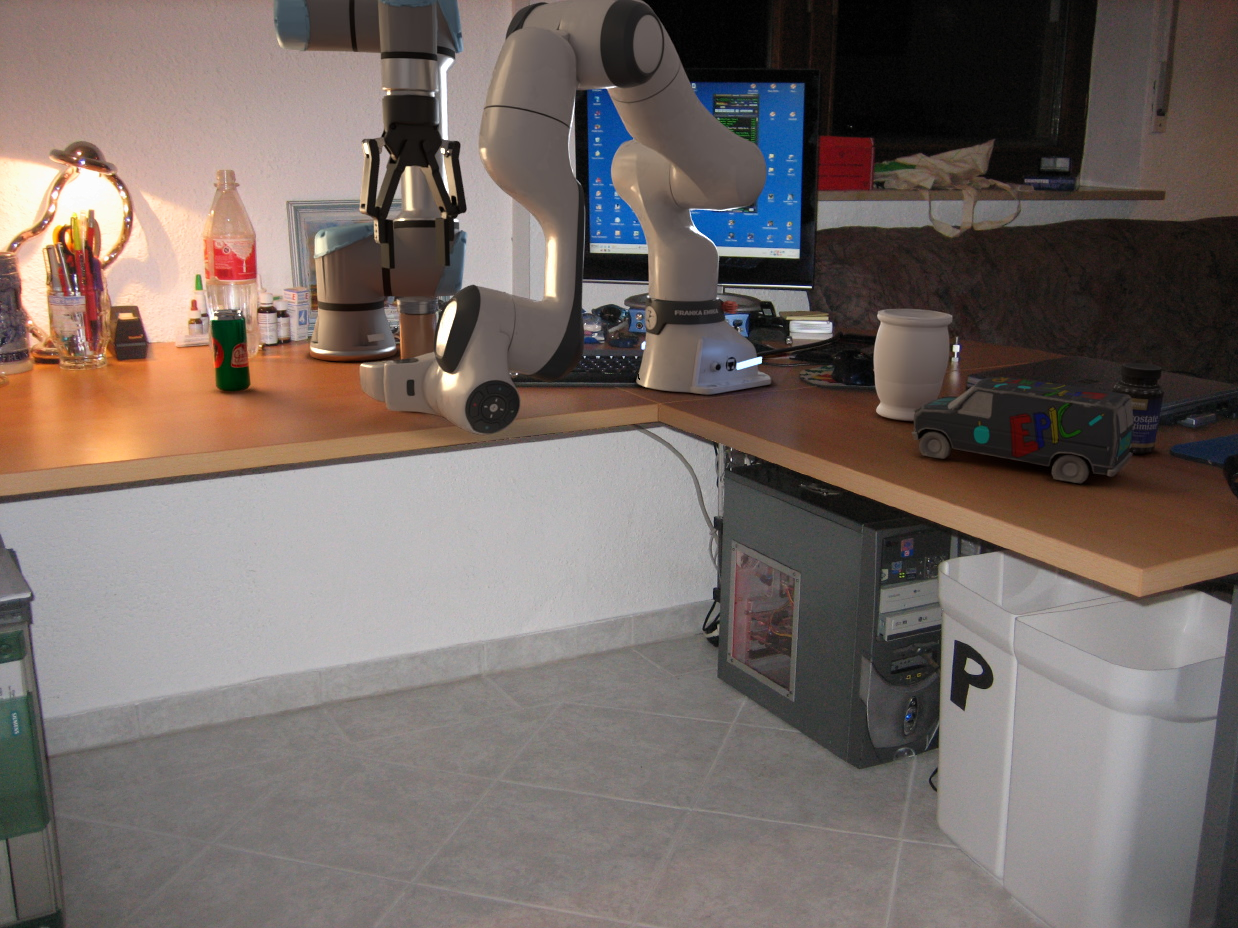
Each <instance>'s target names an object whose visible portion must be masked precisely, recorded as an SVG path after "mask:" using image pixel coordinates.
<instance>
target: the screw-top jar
mask: <svg viewBox="0 0 1238 928" xmlns="http://www.w3.org/2000/svg"><path fill="white" fill-rule="evenodd" d="M398 321H399V322H398V323H399V325H398V329H399V346H400V348H399V351H400V360H402V359H408V358H414V357H418V356H421V355H424V354H427V353H432V352H434V337H435V330H436V326H437V322H438V312H435V313H427V314H407V313H400V312H398Z"/></svg>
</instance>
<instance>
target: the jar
mask: <svg viewBox="0 0 1238 928" xmlns="http://www.w3.org/2000/svg"><path fill="white" fill-rule="evenodd" d="M877 319H878V321H880V325H879V327H878V329H877V334H876V337H875V342H874V347H873V372H874V384H875V385H874V386H875V391H876V395H877V398H878V399H879V401H880V402H879V404H877V405H878V406H877V407H876V409H875V412H876V413H877V415H879V416H881V417H884V418H887V419H889V420H890V419H891V420H896V421H903V422H914V414H915V410H916V409H918V408H919V407H921V406H923V405H924V404H926V403H929V402H931V401H934V400H936V399H939V396H940V393H941V391H942V388H943V384H944V378H945V377H946V376H945V375H946V373H947V369H948V364H949V360H950V359H949V357H950V334H949V327H948V326H949V325H951V324H952V323H953V315H952V314H950V313H947V312H943V311H936V310H929V309H918V308H888V309H880V310H878V311H877Z"/></svg>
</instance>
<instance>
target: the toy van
mask: <svg viewBox="0 0 1238 928" xmlns="http://www.w3.org/2000/svg"><path fill="white" fill-rule="evenodd" d="M1134 427H1135V426H1134V418H1133V410H1132V401H1131V396H1129V395H1127V394H1121V393H1115V392H1112V391H1108V390H1103V389H1102V390H1100V389H1094V388H1089V387H1081V386H1076V385H1068V384H1061V383H1054V382H1047V381H1042V380H1041V381H1040V380H1032V379H1026V378H1025V379H1024V378H1016V377H1015V378H1014V377H1003V376H989V377H985V378H982V379H981V380H979V381H977V382H976V383H975V384H974V385H972V386H971V387H970V388H969V389H967V390H966V391H964V392H963V393H962V394H960V395H959V396H950V395H946V396H942V397H939V398H937V399H936V400H934V401H931V402H929V403H926V404H924V405H923V406H921V407H919V408H918V409H916V410H915V414H914V421H913V431H912V432H911V435H912V438H913V440H914V441H918V449H919V450H918V451H919V452H920V453H921V455H922V456H925V457H931V458H937V459H942V460H945V459H947V458H948V457H949V456H950V455H951V452H952V449H953V450H958V451H963V452H969V453H974V454H979V455H984V456H990V457H991V456H992V457H997V458H1002V459H1008V460H1013V461H1017V462H1018V461H1019V462H1024V463H1028V464H1034V465H1039V466H1043V467H1044V466H1045V467H1051V466H1052V467H1051V476H1052V479H1053V480H1058V481H1062V482H1068V483H1074V484H1083V483H1084V482H1086V481H1087V480H1088V479H1089V475H1090V473H1091V472H1092V474H1095V475H1105V476H1107V477H1115V475H1116V474H1118V473H1119V472H1120V471H1121V470H1122V469H1123V468H1125V466H1126V464H1127V463H1129V462H1130V460H1131V458H1132V456H1133V455H1134V453H1131V452H1129V451H1130V448H1131V441H1132V436H1133V430H1134ZM1090 471H1091V472H1090Z"/></svg>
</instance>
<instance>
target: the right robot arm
mask: <svg viewBox="0 0 1238 928" xmlns="http://www.w3.org/2000/svg"><path fill="white" fill-rule="evenodd" d="M496 59H497V60H496V63H495V64H494V68H493V71H492V74H491V77H490V81H489V85H488V88H487V91H486V94H485V95H486V96H485V100H484V105H483V109H482V116H481V120H480V126H479V134H478V155H479V158H480V162H481V163H482V165H483V168H484V169H485V171H486V173H487V174H488V176H489V178H490V179H491V180H492V181H493V182H494V184H495V185H497V187H498V188H499V189H500V190H502V191H503V192H504V193H505V194H506V195H507V196H509V197H511V198H512V199H513V200H514V201H516V202H517V203H518V204H519V205H521V206H522V207H523V208H524V209H525V210H527V211H528V213H530V214H531V215H532V216H533V217H534V219H535V220H536V221H537V223H538V225H539V226H540V228H541V230H542V232H543V235H544V240H545V242H544V243H545V251H544V252H545V254H544V255H545V256H544V278H543V281H544V282H543V284H544V285H543V296H542V297H543V298H542V300H536V299H532V298H529V297H524V296H519V295H516V294H511V293H508V292H506V291H501V290H498V289H494V288H489V287H484V286H480V285H475V284H470V285H467V286H465V287H463V288H461V290H460V291H459V292H457V293H456V294H455V295H454V296H451V297H450V298H449V300H448V301H446V303H445V304H444V305H443V307H442V309H441V311H440V313H439V316H438V318H437V326H436V330H435V337H434V352H432V353H427V354H424V355H421V356H418V357H414V358H408V359H402V360H401V359H394V360H382V361H370V362H369V361H368V362H363V363H360V365H359V368H358V369H359V370H358V371H359V385H360V389H361V390H362V392H364V393H365V395H367V396H368V397H370V398H372V400H375V401H377V402H380V403H385V408H386V409H387V410H388V411H390V412H401V413H403V412H404V413H405V412H406V413H424V414H429V415H433V416H441V417H442V418H445V420H447V421H448V422H449V423H451V424H452V425H453V426H456V427H458V428H459V429H462V430H463V431H466V432H468V433H471V434H474V435H480V436H487V435H489V436H490V435H493V434H497V433H499V432H502V431H503V430H505V429H506V428H508V427H509V426H510V425H511V424H513V422H514V421H515V420H516V418H517V417H518V415H519V412H520V409H521V396H520V393H519V390H518V388H517V387H516V385H515V383H514V381H513V380H512V379H517V378H518V375H519V374H522V375H524V376H526V377H528V378H531V379H535V380H539V381H541V382H545V383H548V384H549V383H554V382H556V381H558V380H560V379H563V378H564V377H566V376H567V375H568V374H569V373H572V371H573V370H575V369H576V367H577V366H578V365H579V364H580V362H581V360H582V357H583V354H584V350H585V325H584V316H583V314H584V313H583V286H584V285H583V284H584V263H585V262H584V261H585V239H586V237H585V235H586V202H585V201H586V200H585V192H584V187H583V185H582V184H581V182H579V180H578V179H577V178H576V177H575V174H574V170H573V166H572V161H571V156H570V155H571V154H570V136H571V131H572V125H573V118H574V112H575V105H576V104H575V103H576V95H577V94H576V92H577V91H587V90H603V89H606V90H607V93H608V95H609V97H610V99H611V101H612V103H613V105H614V107H615V109H616V111H617V114H618V115H619V117H620V120H621V121H622V123H623V125H624V127H625V129H626V132H627V133H628V134H629V136H630V137H632V138H633V139H630V140H626V141H624V142H622V143H621V144H620V145H619V146H618V148H617V150H616V152H615V153H614V155H613V158H612V161H611V168H610V177H611V181H612V185H613V188H614V190H615V192H616V194H617V195H618V196H619V197H620V199H622V200H623V201H624V202H625V203H626V204H627V205H628V206H629V207H630V209H631V210H632V212H634V214H635V216H636V218H637V220H638V222H639V224H640V226H641V229H642V231H643V234H644V237H645V242H646V248H647V256H648V258H647V259H648V260H647V261H648V295H646V297H645V305H644V307H645V309H644V327H645V340H644V341H643V342H642V343H641V350H643V353H642V358H641V363H640V367H639V370H638V374H639V378H640V380H639V379H638V376H637V377H636V380H635V382H636V384H637V385H639V386H642V387H645V388H648V389H652V390H659V391H667V392H678V393H692V394H700V395H716V394H722V393H727V392H734V391H739V390H740V391H741V390H744V389H751V388H757V387H763V386H768V385H772V378H771V376H770V375H768V374H766V373H765V372H762V371H760V370H759V365H760V364H762V361H763V360H762V359H763V357H768V356H772V355H779V354H785V353H790V352H796V351H801V350H806V349H813V348H818V347H820V346H825V345H828V344H831V343H832V342H835V341H837V340H838V339H843V338H842V337H843V336H844V333H843V332H842V331H841V330H839V331H837V332H836V333H835V334H834V335H833V336H831V337H829V338H827V339H824V340H819V341H815V342H810V343H806V344H805V343H804V344H800V345H792V346H787V347H780V348H776V349H770V350H764V351H760V352H757V350H756V347H755V346H754V344H753V343H752V342H751V341H750V340H748V338H747V337H745V336H744V335H743V334H742V333H740V332H739V331H738V330H737V329H736V328H735V327H733V326H732V324H730V323H729V322H728V321H727V320H726V318H727V317H726V315H725V313H726V314H731V315H735V314H737V312H738V311H739V304H738V303H737V301H731V300H728V299H727V300H725V301H724V300H722V299H721V298H720V297H718V286H719V285H718V284H719V263H720V262H719V261H720V255H719V251H718V249H717V246H716V245H715V243H714V241H713V240H711V239H710V238H708V237H707V236H706V235H705V234H703V233H701V232H700V231H699V230H698V229H697V227H696V226H695V224H694V221H693V220H692V215H691V210H701V211H702V210H704V211H719V212H720V211H721V212H722V211H728V210H736V209H740V208H746V207H749V206H752V205H753V204H755V202H756V201H757V200H758V199H759V197H760V196H761V194H762V192H763V190H764V188H765V185H766V181H767V175H768V174H767V173H768V171H767V170H768V169H767V163H766V159H765V155H764V154H763V152H762V151H761V149H760V148H759V146H758V145H757V144H756V143H755V142H753V141H750V140H748V139H746V138H744V137H742V136H740V135H738V134H736V133H735V132H734V131H732V130H731V129H729V128H728V127H727V126H725V125H724V124H723V123H722V122H720V120H719V119H717V118H716V117H715V116H714V115H713V114H712V113H711V112H710V111H709V110H708V109H707V107H706V106H705V105H704V104H703V103H702V102H701V100H700V99H699V97H698V96H697V94H696V91H695V90H694V88H693V86H692V84H691V82H690V79H689V77H688V75H687V73H686V71H685V68H684V66H683V63H682V61H681V59H680V56H679V54H678V52H677V49H676V47H675V44H674V43H673V41H672V40H671V37H670V35H669V33H668V31H667V30H666V28H665V25H663V23H662V22H661V20H660V18H659V17H658V16H657V14H656V13H655V12H654V9H652V7H650V5H649V4H648V3H646V2H645V1H644V0H561V1H553V2H544V1H540V2H536V3H535V2H534V3H532V4H529V5H526V6H524V7H522V8H520V9H519V10H518V11H516V13H514V16H513V17H512V18H511V20H510V22H509V24H508V26H507V30H506V34H505V39H504V43H503V44H502V46H501V49H500V51H499V54H498V55H497V58H496ZM844 337H845V336H844Z"/></svg>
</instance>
